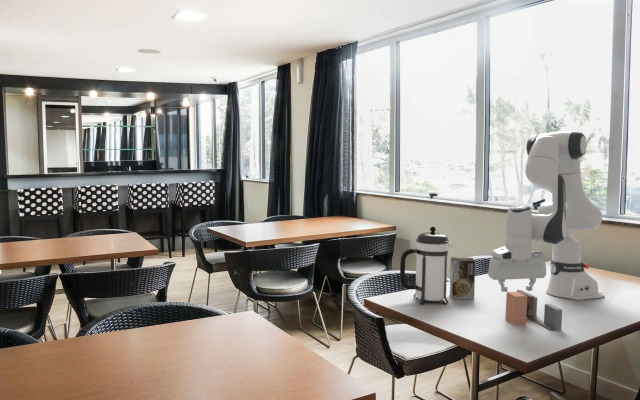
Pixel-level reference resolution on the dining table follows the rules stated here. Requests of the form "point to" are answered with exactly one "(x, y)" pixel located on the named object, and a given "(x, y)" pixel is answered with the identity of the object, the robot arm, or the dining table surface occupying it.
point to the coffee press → (429, 266)
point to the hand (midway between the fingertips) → (516, 290)
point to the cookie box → (462, 278)
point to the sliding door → (529, 303)
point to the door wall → (548, 316)
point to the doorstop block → (516, 308)
